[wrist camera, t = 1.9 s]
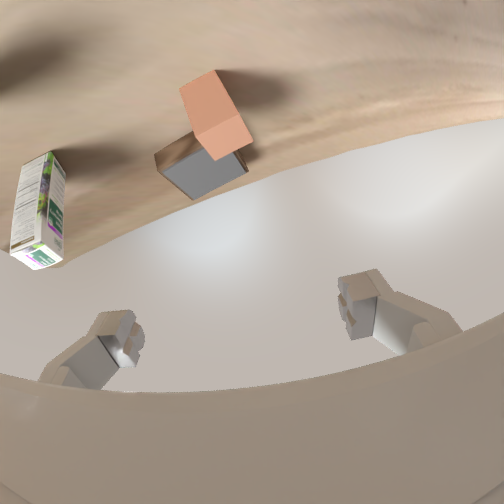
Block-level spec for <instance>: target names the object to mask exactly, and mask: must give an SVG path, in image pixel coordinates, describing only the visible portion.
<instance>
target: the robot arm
mask: <svg viewBox="0 0 504 504" xmlns="http://www.w3.org/2000/svg"><path fill="white" fill-rule="evenodd" d="M338 288H339V290H340V292H341V293H340V295H339V296H338V302H339V310H340V314H341V317H342V320H344V321H345V322H346V329H347V332H348V334H349V337H350V339H351V340H355V339H359V338H364V337H369V336H373V337H374V338H375V339H377V340H378V341H380V342H381V343H382V344H384V345H385V346H387V347H388V348H389V349H391V350H392V351H394V352H395V353H396V354H398V355H399V356H397V357H393V358H390V359H387V360H384V361H380V362H377V363H373V364H369V365H366V366H362V367H358V368H355V369H350V370H346V371H342V372H338V373H334V374H329V375H325V376H319V377H314V378H309V379H304V380H298V381H292V382H286V383H280V384H273V385H265V386H257V387H249V388H240V389H229V390H216V391H200V392H170V393H169V392H166V393H156V392H154V393H152V392H151V393H150V392H122V391H107V390H101V388H102V387H103V386H104V385H105V384H106V383H107V382H108V381H109V379H110V378H111V377H112V376H113V375H114V374H115V373H116V372H117V371H118V369H119V368H125V367H136V365H137V362H138V359H139V357H140V354H139V352H138V351H139V350H141V349H142V348H143V345H144V342H145V340H144V338H145V336H144V332H143V329H142V328H141V326H140V325H139V324H137V323H136V322H135V321H136V316H135V315H134V313H133V311H131V310H120V311H111V312H109V311H108V312H101V313H99V315H98V317H97V318H96V320H95V321H94V323H93V325H92V326H91V328H90V330H89V331H88V333H87V335H86V337H82V338H80V339H79V340H78V341H77V342H75V343H74V344H73V345H71V346H70V347H69V348H67V349H66V350H65V351H64V352H62V353H61V354H59V355H58V356H57V357H55V358H54V359H53V360H52V361H51V362H49V363H48V364H47V365H46V367H45V368H44V370H43V372H42V374H41V376H40V378H39V379H38V381H32V380H28V379H23V378H18V377H14V376H10V375H6V374H2V373H0V504H504V313H502V314H500V315H498V316H496V317H494V318H492V319H490V320H488V321H486V322H484V323H482V324H480V325H477V326H475V327H473V328H471V329H469V330H466V331H464V332H463V331H462V330H461V328H460V327H459V325H458V324H457V323H456V322H455V320H454V319H453V318H452V316H451V315H450V314H449V313H448V312H446V311H444V310H441V309H439V308H437V307H434V306H432V305H429V304H427V303H425V302H422V301H420V300H417V299H415V298H413V297H410V296H408V295H405V294H403V293H401V292H398V291H397V292H394V291H393V290H392V288H391V287H390V285H389V284H388V283H387V281H386V280H385V279H384V277H383V276H382V275H381V273H380V272H379V271H378V270H377V269H372V270H368V271H365V272H361V273H357V274H352V275H348V276H343V277H339V278H338Z"/></svg>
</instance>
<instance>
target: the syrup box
mask: <svg viewBox="0 0 504 504" xmlns="http://www.w3.org/2000/svg"><path fill="white" fill-rule="evenodd" d="M65 178H66V173H65V172H64V170H63V169H62V167H61V166H60V164H59V163H58V161H57V159H56V158H55V156H54V155H53V153H52V152H51V151H50V152H48V153H46V154H44V155H42V156H40V157H38V158H36V159H34V160H32V161H31V162H29V163H27V164H25V165H23V166H22V170H21V174H20V179H19V184H18V189H17V195H16V201H15V208H14V215H13V223H12V232H11V244H10V255H11V256H14V257H16V258H17V259H18V260H20V261H21V262H23V263H24V264H26V265H27V266H29V267H30V268H32V269H33V270H36V269H40V268H44V267H47V266H50V265H53V264H55V263H57V262H59V261H61V260H63V259H64V253H63V209H64V190H65Z"/></svg>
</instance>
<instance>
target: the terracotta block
mask: <svg viewBox="0 0 504 504" xmlns="http://www.w3.org/2000/svg"><path fill="white" fill-rule="evenodd" d="M179 90H180V93H181V96H182V99H183V102H184V105H185V108H186V111H187V114H188V117H189V120H190V123H191V126H192V129H193V132H194V135H195V137H196V138H197V140H198V141H199V142H200V143H201V145H202V146H203V147H204V148H205V149H206V151H207V152H208V153H209V154H210V156H211V157H212V158H213V159H214V161H216V160H218V159H220V158H222V157H224V156H226V155H228V154H230V153H231V152H233V151H235V150H237V149H239V148H241V147H243V146H245V145H247V144H250V143H252V142H254V141H253V139H252V137H251V135H250V133H249V131H248V129H247V128H246V126H245V124H244V122H243V120H242V118H241V116H240V114H239V113H238V111H237V109H236V107H235V105H234V104H233V102H232V100H231V98H230V96H229V95H228V93H227V91H226V89H225V88H224V86H223V84H222V82H221V81H220V79H219V77H218V75H217V74H216V72H215V70H213V71H211V72H209V73H207V74H205V75H203V76H201V77H199V78H197V79H195V80H194V81H192V82H190V83H188V84H186V85H185V86H183V87H181V88H179Z"/></svg>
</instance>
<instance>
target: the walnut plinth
mask: <svg viewBox="0 0 504 504" xmlns="http://www.w3.org/2000/svg"><path fill="white" fill-rule="evenodd" d="M154 156H155V161H156V166H157V171H158V172H159V173H160V174H161V175H163V176H164V177H165V178H166V179H167V180H169V181H170V182H171V183H172V184H173V185H175V186H176V187H177V188H178V189H179V190H181V191H182V192H183V193H184V194H185V195H187V196H188V197H189V198H190V199H191V200H195V199H197V198H199V197H201V196H203V195H205V194H207V193H208V192H210V191H212V190H214V189H216V188H218V187H220V186H222V185H224V184H226V183H228V182H230V181H232V180H233V179H235V178H237V177H239V176H241V175H243V174H245V173H247V172H249V170H248V168H247V166H246V164H245V161H244V159H243V157H242V155H241V154H240V152H239V151H238V149H237V150H235V151H233V152H231V153H230V154H228V155H226V156H224V157H222V158H220V159H218V160H216V161H214V159H213V158H212V157H211V156H210V154H209V153H208V152H207V151H206V149H205V148H204V147H203V146H202V145H201V143H200V142H199V141H198V140H197V138H196V137H195V135H194V132H193V131H192V132H191V133H189V134H187V135H185V136H184V137H182V138H180V139H179V140H177V141H175V142H174V143H172V144H170V145H169V146H167V147H165V148H164V149H162V150H161V151H159V152H157V153H156V154H154Z"/></svg>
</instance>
